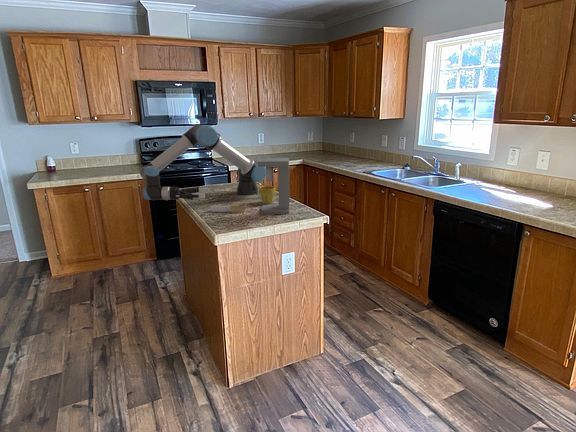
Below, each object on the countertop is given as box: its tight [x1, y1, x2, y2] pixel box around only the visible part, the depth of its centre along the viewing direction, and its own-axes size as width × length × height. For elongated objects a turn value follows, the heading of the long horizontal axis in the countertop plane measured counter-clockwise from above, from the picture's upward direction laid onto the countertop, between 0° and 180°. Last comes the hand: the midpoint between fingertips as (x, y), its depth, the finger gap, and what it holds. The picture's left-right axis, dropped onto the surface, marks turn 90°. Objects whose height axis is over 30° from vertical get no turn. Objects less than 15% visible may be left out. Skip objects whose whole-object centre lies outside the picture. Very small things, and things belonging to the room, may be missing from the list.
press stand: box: [257, 157, 290, 215], centre depth 216 cm, size 12×17×30 cm
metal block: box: [209, 202, 246, 214], centre depth 220 cm, size 6×20×4 cm, turn 89°
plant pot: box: [258, 185, 276, 205], centre depth 237 cm, size 10×10×10 cm
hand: (207, 192), depth 217 cm, fingers open, 13 cm apart
